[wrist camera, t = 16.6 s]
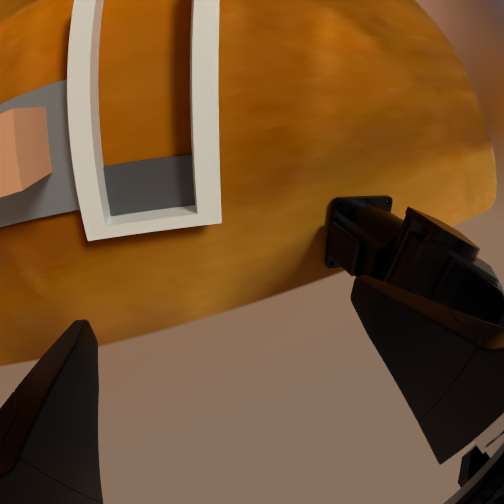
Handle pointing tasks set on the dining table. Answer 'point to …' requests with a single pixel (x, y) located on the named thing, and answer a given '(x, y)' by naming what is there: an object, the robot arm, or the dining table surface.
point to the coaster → (62, 177)
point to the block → (23, 149)
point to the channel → (152, 170)
